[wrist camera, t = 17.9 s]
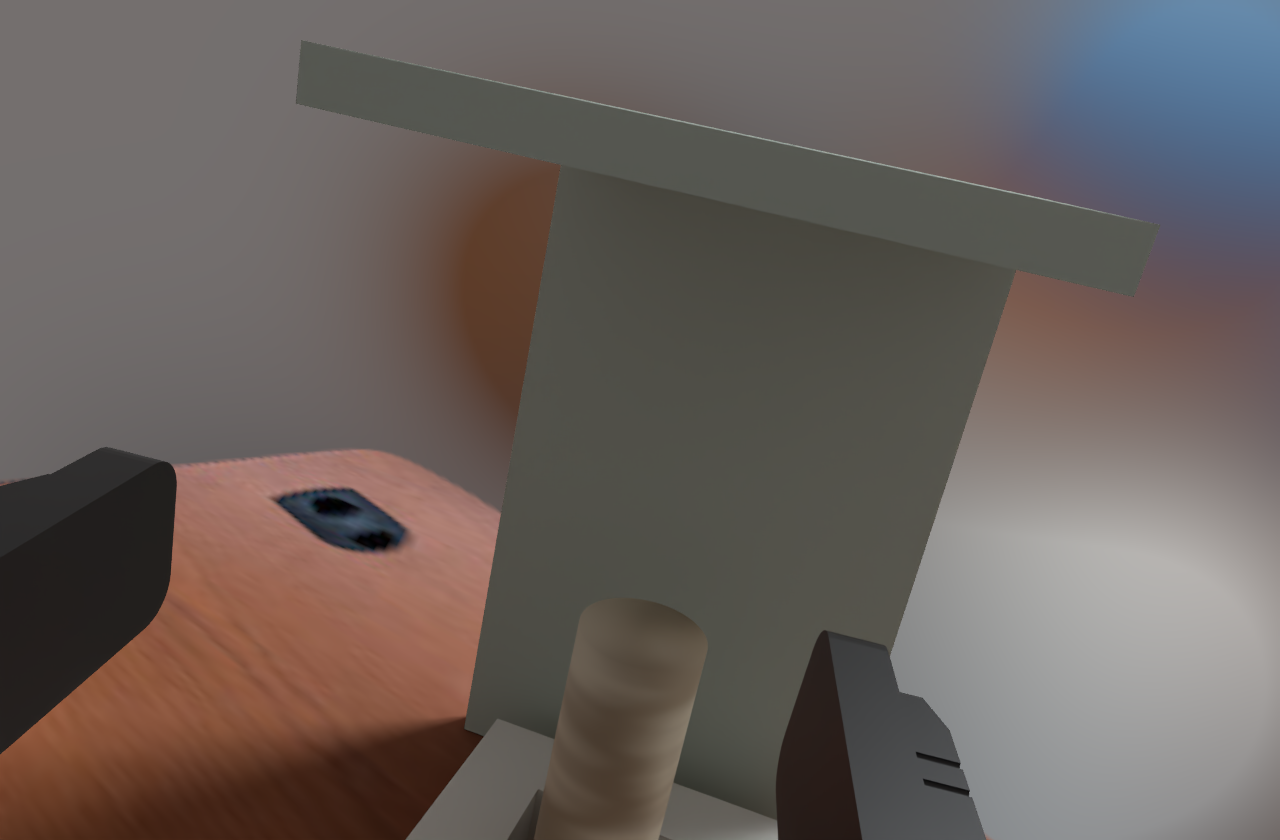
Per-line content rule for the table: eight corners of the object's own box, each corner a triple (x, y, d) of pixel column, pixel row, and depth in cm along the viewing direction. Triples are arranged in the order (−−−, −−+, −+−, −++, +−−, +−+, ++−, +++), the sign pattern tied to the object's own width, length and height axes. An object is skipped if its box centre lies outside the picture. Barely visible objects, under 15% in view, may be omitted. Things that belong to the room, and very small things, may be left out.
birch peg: (496, 956, 31) (560, 641, 27) (541, 872, 35) (602, 584, 31) (610, 1004, 30) (692, 686, 27) (644, 913, 34) (719, 623, 30)
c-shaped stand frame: (215, 1037, 27) (301, 40, 19) (476, 714, 42) (583, 99, 34) (764, 1295, 23) (1160, 225, 15) (825, 841, 39) (1035, 197, 31)
